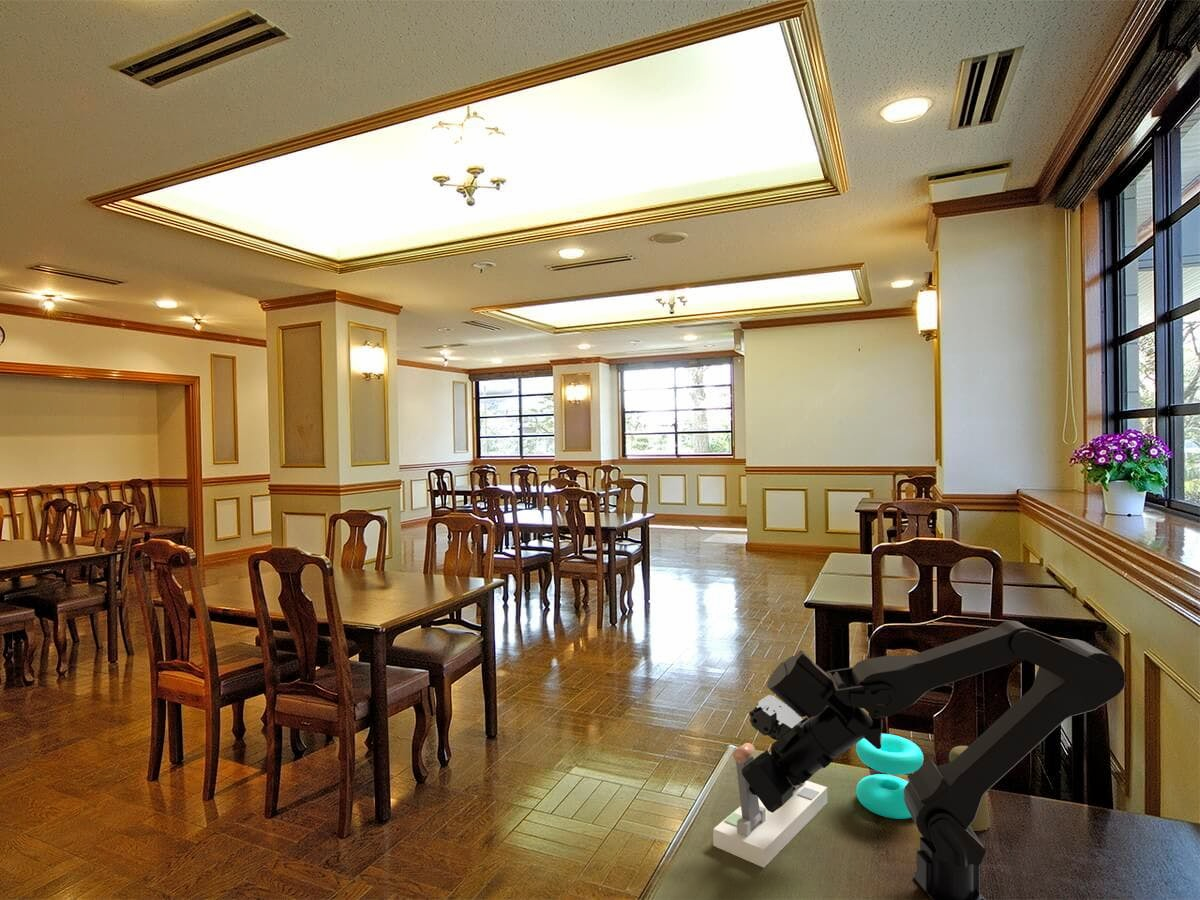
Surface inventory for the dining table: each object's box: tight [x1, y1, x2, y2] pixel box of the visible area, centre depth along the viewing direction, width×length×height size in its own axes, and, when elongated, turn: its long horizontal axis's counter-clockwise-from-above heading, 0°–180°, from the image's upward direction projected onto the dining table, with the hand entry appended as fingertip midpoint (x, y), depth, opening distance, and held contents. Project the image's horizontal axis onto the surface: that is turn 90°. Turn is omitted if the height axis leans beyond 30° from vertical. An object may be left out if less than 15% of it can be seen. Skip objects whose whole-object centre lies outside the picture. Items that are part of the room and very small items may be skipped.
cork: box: [948, 745, 991, 832], centre depth 106 cm, size 6×6×11 cm
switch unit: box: [712, 780, 828, 868], centre depth 105 cm, size 8×22×4 cm, turn 140°
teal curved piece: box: [855, 733, 925, 820], centre depth 110 cm, size 10×10×10 cm
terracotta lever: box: [732, 742, 761, 829], centre depth 100 cm, size 2×3×11 cm, turn 140°
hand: (751, 790), depth 100 cm, fingers closed, pressing on terracotta lever
